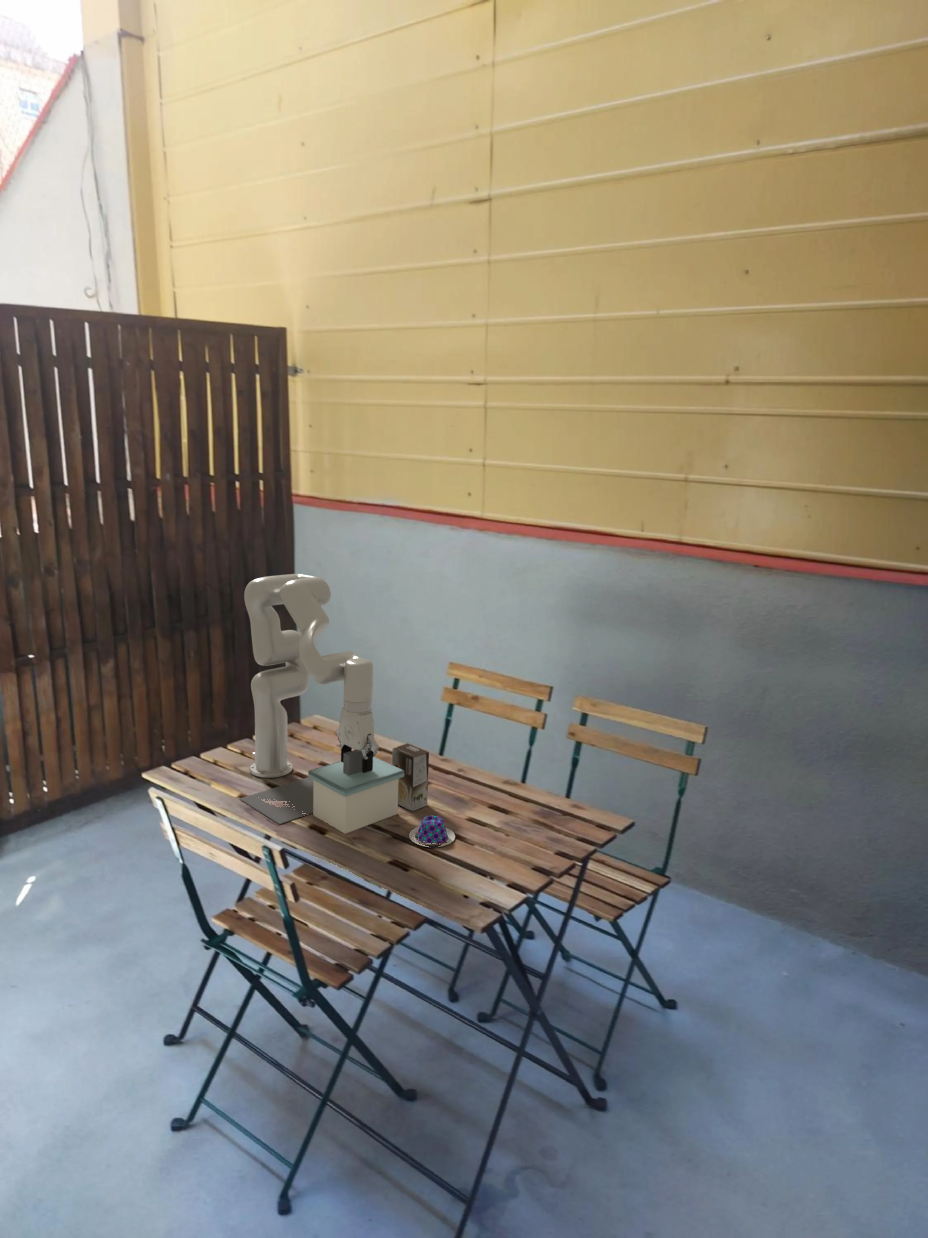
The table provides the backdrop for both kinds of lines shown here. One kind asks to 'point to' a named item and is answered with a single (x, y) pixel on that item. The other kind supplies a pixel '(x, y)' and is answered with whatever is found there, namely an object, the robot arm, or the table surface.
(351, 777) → the lid
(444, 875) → the table surface
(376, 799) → the box
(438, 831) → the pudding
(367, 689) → the robot arm
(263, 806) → the mat
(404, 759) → the coffee box
